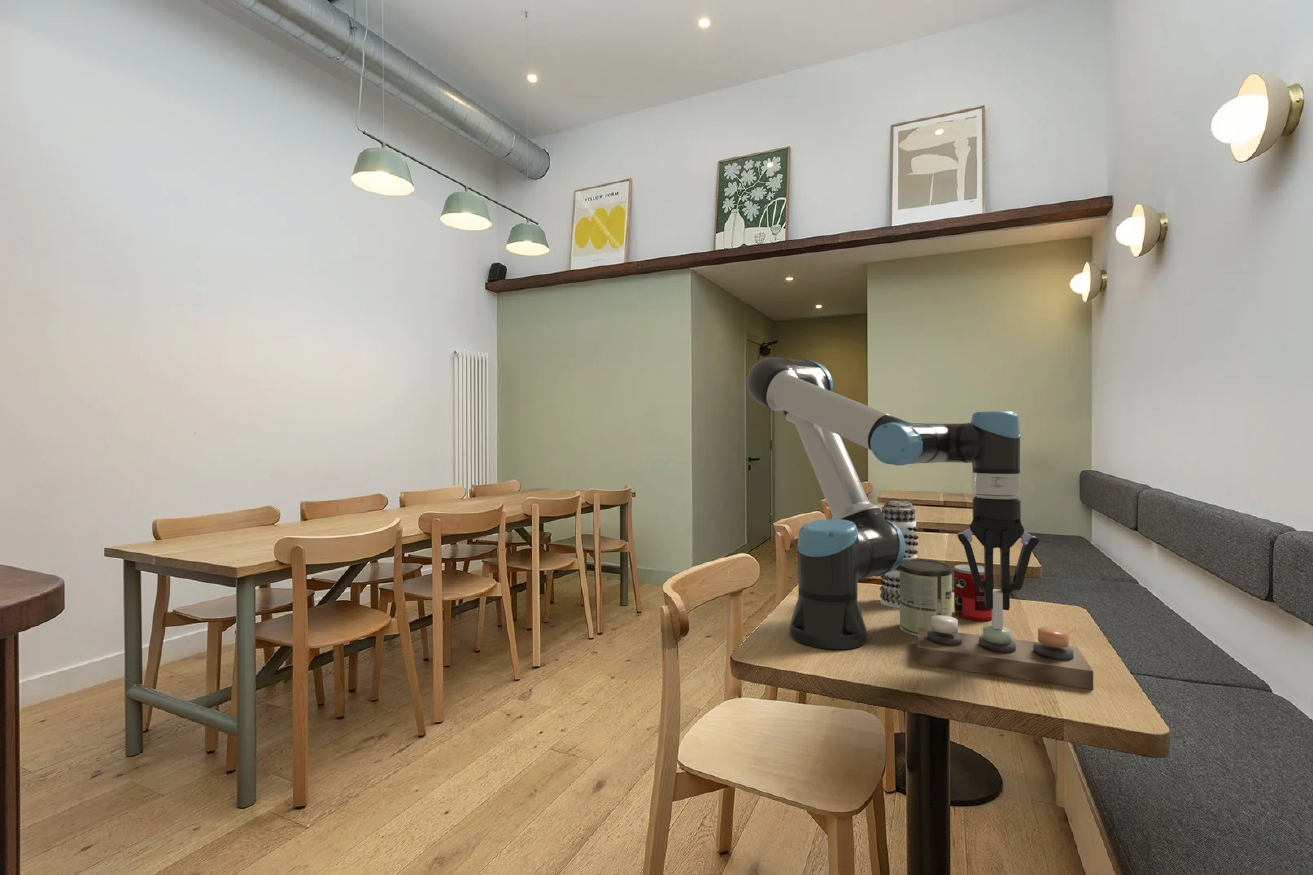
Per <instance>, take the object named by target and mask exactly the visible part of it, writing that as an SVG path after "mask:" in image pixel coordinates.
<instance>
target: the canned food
mask: <svg viewBox="0 0 1313 875" xmlns="http://www.w3.org/2000/svg"><path fill="white" fill-rule="evenodd" d="M977 568H978V571H979V575H980V578H981V580H984V565H983V566H982V565H978V564H977ZM994 575H995V574H994V572H993V589H995V588H994V587H995V586H994V585H995V583H994V582H995V581H994V578H995V577H994ZM953 609H954V613H955V614H954V615H956V616H957V617H959V618H962V619H965V620H969V621H975V622H989V621H992V609H989V608H986V605H985V590H984V589H983V588H980V587H977V586H975V584H974V581H973V578H972V574H971V571H970V567H969V564H956V565H954V568H953Z"/></svg>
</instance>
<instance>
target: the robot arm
mask: <svg viewBox="0 0 1313 875" xmlns="http://www.w3.org/2000/svg"><path fill="white" fill-rule="evenodd" d="M746 386H747V390H748V393H749V396H750V397H751V398H752V399H753V400H754V401H755V402H756V403H758V404H759V405H761V406H764V407H766V408H767V409H770V410H772V411H774V412H783V416H784V418H785V420H786V421H787V422H789V423H792V424H793V425H795V428H796V430H797V433H798V435H799V437H800V440H801V441H802V445H803V447H804V449H805V452H806V455H807V457H808V460H809V462H810V464H811V467H812V469H813V472H814V474H815V477H816V479H817V482H818V484H819V486H820V488H821V491H822V493H823V496H824V498H825V500H826V503H827V505H828V508H829V512H830V513H831V518H829V519H819V520H813V521H810V522H807V523H805V524H803V525H802V526H801V527H800V529H799V530H798V538H797V539H798V540H797V545H796V546H797V547H796V549H797V573H798V574H797V576H798V578H797V580H798V582H797V586H798V589H797V590H798V596H797V601H796V603H795V607H794V610H793V613H792V616H791V619H790V622H789V635H790V637H791V638H792V639H793V640H795V641H796V642H798V643H801V644H803V645H805V646H809V647H814V648H820V649H826V650H850V649H855V648H859V647H861V646H862V647H863V646H864V645H865V644H866V643H867V641H868V640H867V639H868V634H867V633H868V631H867V627H866V626H867V625H866V624H865V621H864V618H863V615H862V612H861V608H860V605H859V601H858V581H860V580H864V579H868V578H869V579H870V578H873V577H880V576H881V575H884V574H886V573H888V572H891V571H893V570H894V569H896V568H897V567H898V566H899V563H900V562H902V560H903V557H904V555H905V540H904V536H903V534H902V532H901V530H900V529H899V528H898V527H897V526H896V525H895V524H893V523H891V522H890V521H888V520H885V518H884V516H883V514H882V508H881V507H880V506H878V505H875V504H873V503H871V501H870V500H869V498H868V495H867V493H866V491H865V489H864V486H863V484H862V482H861V480H860V478H859V476H858V473H857V470H856V468H855V466H854V464H853V462H852V459H851V457H850V455H849V453H848V450H847V448H846V446H845V443H844V441H843V439H846V440H848V441H850V442H853V443H855V444H856V445H859V446H861V447H863V448H865V449H868V450H869V451H872V454H873V455H874V456H875V458H876V459H877V460H878V461H880V462H881V463H884V464H886V465H893V466H906V465H913V464H914V465H915V464H916V465H917V464H932V463H938V464H939V463H963V464H971V468H972V472H971V473H972V493H973V494H974V495H975V496H974V497H973V498H972V520H971V523H970V524H969V528H966V530H964V531H959V532H958V533H957V534H956V536H957V538H958V540H959V542H960V543H961V544H962V546H963V549H964V551H965V556H966V559H967V563H968V565H969V567H970V571H971V574H972V578H973V581H974V584H975V586H977V587H980V588H983V589H984V590H985V605H986V608H989V609H992V620H991V625H992V626H993V629H1001V630H1003V627H1004V619H1003V618H1004V611H1009V610H1010V607H1011V605H1010V601H1011V600H1010V599H1011V595H1010V594H1011V592H1014V591H1020V590H1022V588H1023V583H1024V581H1025V577H1026V574H1027V570H1028V566H1029V564H1030V563H1029V562H1030V559H1031V556H1032V552H1033V550H1034V549H1035V548H1036V547H1037V545H1038V544H1039V539H1038V538H1037V537H1036V536H1035V535H1031V534H1030V533H1028V532H1026V531H1025V528H1024V526H1023V524H1022V520H1021V519H1022V518H1021V517H1022V512H1021V511H1022V510H1021V509H1022V506H1021V501H1022V500H1020V498H1018V496H1020V495H1021V438H1022V435H1021V432H1020V430H1021V429H1020V428H1021V427H1020V418H1019V415H1018V414H1017V413H1016V412H1014V411H1012V410H1011V411H1010V410H992V411H991V410H990V411H975V412H974V413H972V416H971V420H970V422H964V423H923V422H922V423H921V422H919V423H918V422H908V421H905V420H904V419H901V418H898V417H895V416H892V415H890V414H889V413H886V412H883V411H881V410H878V409H876V408H874V407H872V406H868V405H866V404H864V403H861V402H859V401H856V400H854V399H851V398H849V397H846V396H843V395H841V394H838V393H837V392H836V393H835V392H834V391H832V389H834V381H833V377H832V375H831V372H829V370H828V369H827V368H826V366H824V365H823V364H821V363H819V362H817V361H813V360H810V359H794V358H786V357H778V356H770V357H765V358H763V359H760V360H759V361H757V362H756V363H754V364H753V366H751V368H750V370H749V371H748V374H747V378H746ZM842 438H843V439H842ZM973 536H975V538H976V539H977V540H978V541H979V543H980V544H981V545H982V546H983V557H984V558H983V560H984V561H983V566H984V580H981V578H980V575H979V571H978V568H977V565H978V564H977V561H976V558H975V553H974V551H973V550H974V549H973V547H972V544H971V542H972V541H973ZM1020 538H1021V540H1020V542H1021V544H1022V547H1021V549H1020V553H1019V556H1018V559H1017V564H1016V567H1015V570H1014V575H1013V578H1012V581H1011V573H1010V572H1011V568H1010V566H1011V559H1010V558H1011V557H1010V554H1011V548H1012V547H1013V546H1014V545H1015V544H1016V543H1017V541H1018V540H1019V539H1020ZM997 548H998V549H999V557H1000V558H999V568H1000V569H999V572H1000V576H999V577H1000V579H999V580H1000V589H998V588H997V589H996V588H994V589H993V573H994V549H997Z"/></svg>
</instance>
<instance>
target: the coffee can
mask: <svg viewBox="0 0 1313 875" xmlns="http://www.w3.org/2000/svg"><path fill="white" fill-rule="evenodd" d="M899 567H900V608H899V626H898V627H899V629H900V630H901V631H902V632H903V633H905V634H908V635H911V636H915V637H918V632H919V628H926V629H932V624H931V617H932V616H936V615H942V616H949V617H953V616H952V615H953V613H952V612H953V611H952V610H953V604H952V603H953V602H952V601H953V600H952V598H953V597H952V596H953V595H952V593H953V572H954V568H953V566H952V565H950V564H948V563H947V562H942V561H938V560H931V559H920V558H919V559H917V558H916V559H912V560H904V561H902V562H900V563H899Z"/></svg>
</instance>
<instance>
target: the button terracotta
mask: <svg viewBox="0 0 1313 875" xmlns="http://www.w3.org/2000/svg"><path fill="white" fill-rule="evenodd" d="M1069 635H1070V634H1069V632H1068V631H1066V630H1063V629H1061V628H1056V627H1050V626H1048V627H1044V626H1042V627H1038V628H1037V642H1040V643H1042V644H1044V645H1048V646H1052V647H1068V646H1070V645H1069V639H1070V638H1069Z"/></svg>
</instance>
